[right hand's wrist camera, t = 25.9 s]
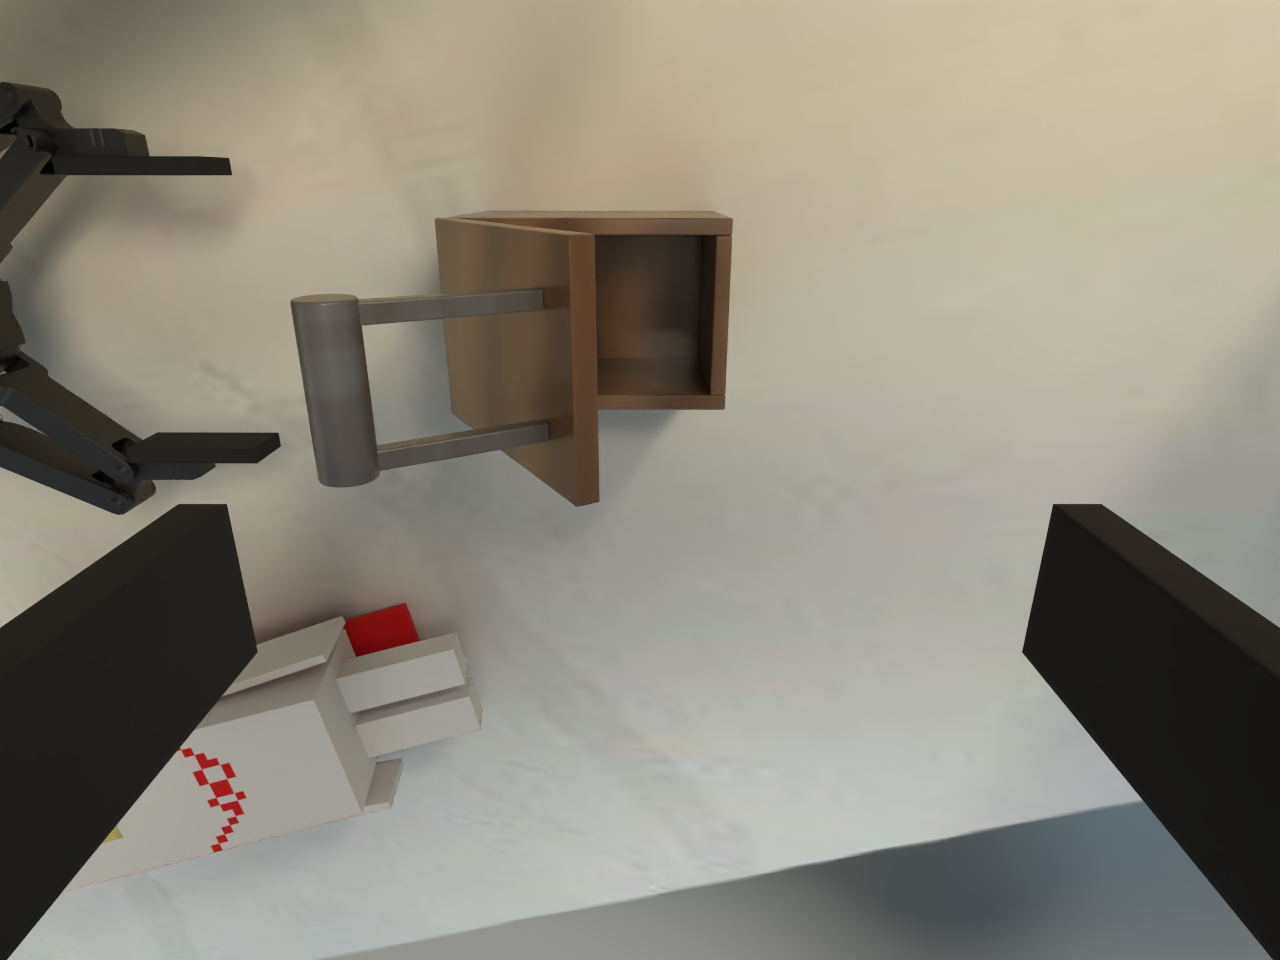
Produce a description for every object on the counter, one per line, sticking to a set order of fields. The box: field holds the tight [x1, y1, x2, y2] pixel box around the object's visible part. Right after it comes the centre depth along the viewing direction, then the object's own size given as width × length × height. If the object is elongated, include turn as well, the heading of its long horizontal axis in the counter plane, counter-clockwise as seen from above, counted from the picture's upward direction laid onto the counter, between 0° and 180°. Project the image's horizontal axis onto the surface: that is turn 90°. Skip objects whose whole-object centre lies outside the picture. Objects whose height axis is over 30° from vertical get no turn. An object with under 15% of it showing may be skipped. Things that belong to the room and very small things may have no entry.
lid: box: [290, 218, 599, 507], centre depth 29 cm, size 14×9×9 cm
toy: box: [63, 603, 482, 892], centre depth 51 cm, size 12×13×30 cm
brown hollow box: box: [450, 211, 733, 410], centre depth 41 cm, size 13×9×10 cm
